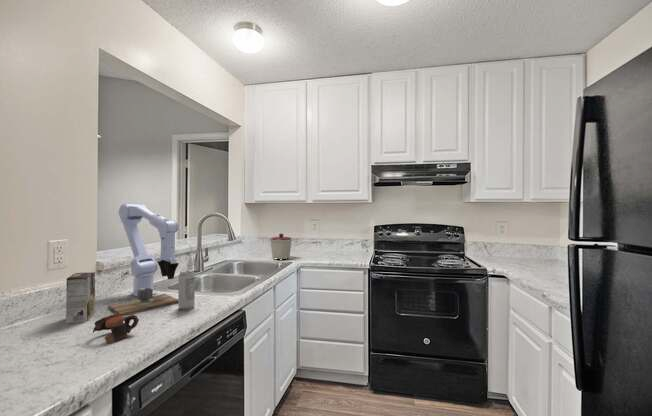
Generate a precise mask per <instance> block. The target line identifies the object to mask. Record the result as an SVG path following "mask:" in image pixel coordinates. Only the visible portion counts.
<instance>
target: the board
mask: <svg viewBox="0 0 652 416" xmlns="http://www.w3.org/2000/svg"><path fill="white" fill-rule="evenodd" d="M176 304H177V305H178V298H176V297H174V296H171V295H169V294H167V293H163V294H162V293H161V294H155V295H153V296H152V298H150V299H147V300H139V299H137V298H136V299H132V300H126V301H122V302H116V303H111V304H108V305H107V308H108V309H109V310H111V312H113V313H114V314H118V313H121V314H122V317H126V316H130V315H134V314H136V313H142V312H145V311H150V310H154V309H158V308H163V307H167V306H172V305H176Z"/></svg>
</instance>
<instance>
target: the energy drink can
mask: <svg viewBox="0 0 652 416" xmlns="http://www.w3.org/2000/svg"><path fill="white" fill-rule="evenodd" d="M195 277H196V274H195V272H194V270H193V269H183V270H181V271H180V273H179V274H178V296H177V297H178V298H177V299H178V303H177V305H178V308H179V309H180V310H191V309H192V308H194V306H195V300H196V299H195V295H196V294H195V292H196V290H195V289H196V288H195V287H196V286H195V282H196V281H195Z"/></svg>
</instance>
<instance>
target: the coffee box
mask: <svg viewBox="0 0 652 416" xmlns="http://www.w3.org/2000/svg"><path fill="white" fill-rule="evenodd" d="M95 274H96V272H92V271H91V272H75V273H73V274H72V275H69V277H67V278H66V293H65V294H66V296H65V297H66V299H65V300H66V301H65V304H66V307H65V308H66V309H65V311H66V313H65V317H66V318H65V324H67V325H68V324H76V323H84V322H88V321H90V319H91V318H92V317H93V316H94V314H95V313H96V275H95Z"/></svg>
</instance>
